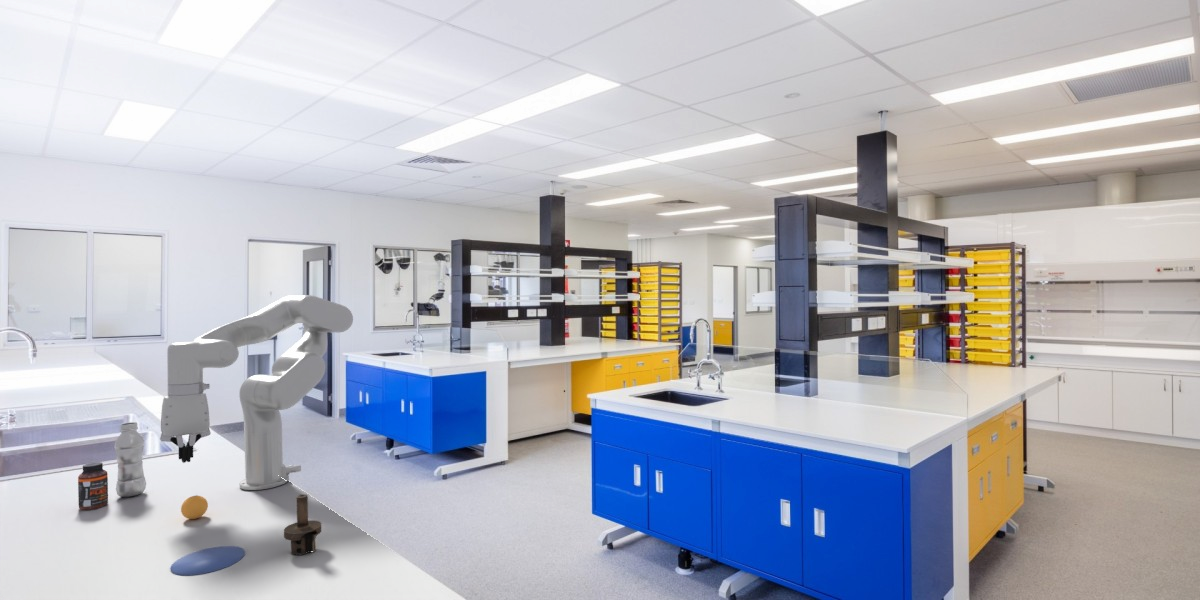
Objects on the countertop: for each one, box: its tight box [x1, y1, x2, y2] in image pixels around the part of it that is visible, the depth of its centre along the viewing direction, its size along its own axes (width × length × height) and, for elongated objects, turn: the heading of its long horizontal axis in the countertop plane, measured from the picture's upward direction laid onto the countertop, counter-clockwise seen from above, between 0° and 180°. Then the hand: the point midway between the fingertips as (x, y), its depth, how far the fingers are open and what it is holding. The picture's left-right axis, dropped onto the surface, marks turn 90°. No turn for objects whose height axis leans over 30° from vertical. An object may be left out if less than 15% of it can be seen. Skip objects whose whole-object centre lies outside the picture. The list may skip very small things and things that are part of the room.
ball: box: [180, 495, 209, 520], centre depth 149 cm, size 6×6×6 cm
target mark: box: [169, 545, 246, 576], centre depth 126 cm, size 13×13×1 cm
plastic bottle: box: [114, 421, 147, 498], centre depth 166 cm, size 6×7×20 cm
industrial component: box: [283, 493, 322, 556], centre depth 130 cm, size 9×7×12 cm
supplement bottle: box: [77, 461, 109, 511], centre depth 158 cm, size 6×6×11 cm
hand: (185, 461), depth 156 cm, fingers closed
